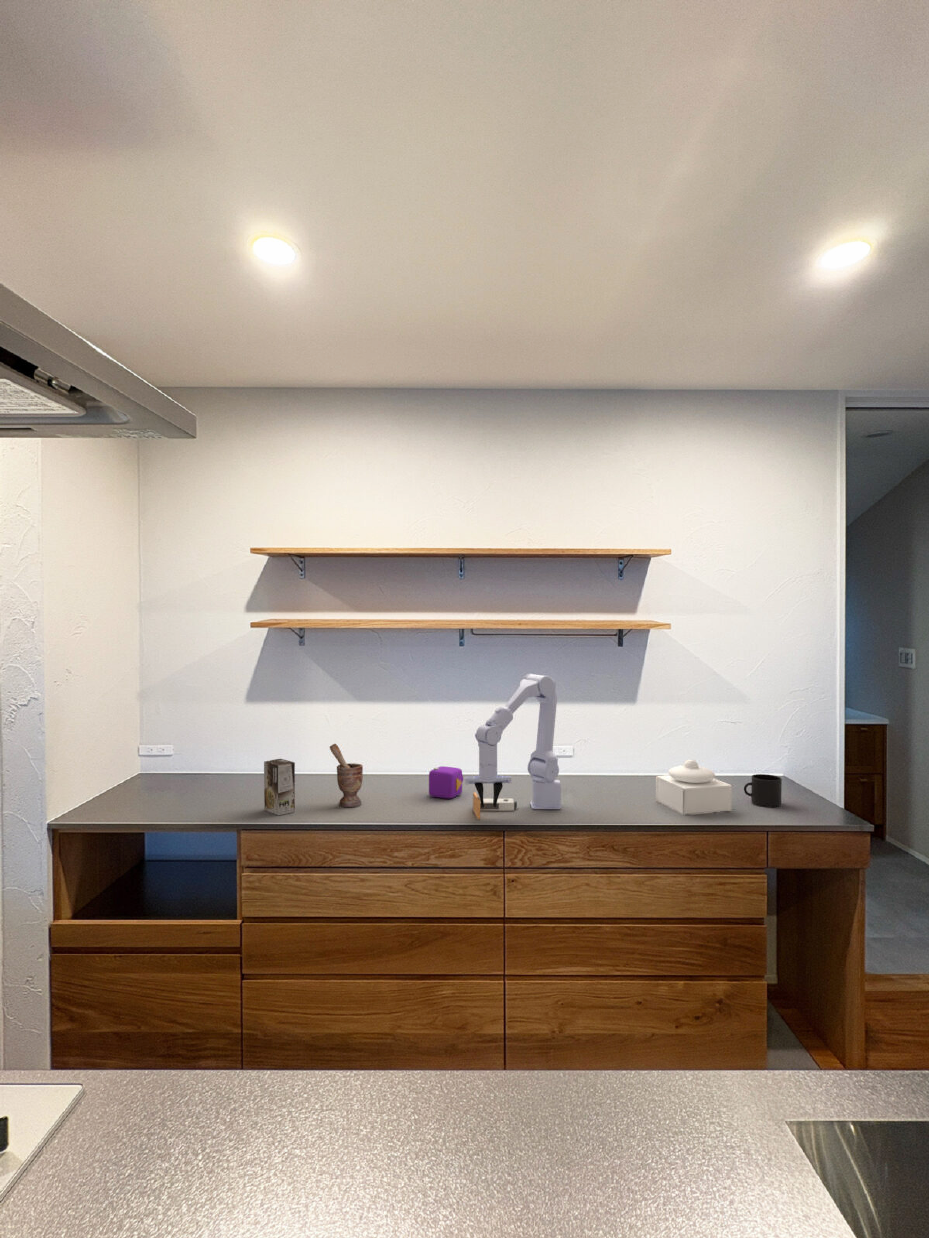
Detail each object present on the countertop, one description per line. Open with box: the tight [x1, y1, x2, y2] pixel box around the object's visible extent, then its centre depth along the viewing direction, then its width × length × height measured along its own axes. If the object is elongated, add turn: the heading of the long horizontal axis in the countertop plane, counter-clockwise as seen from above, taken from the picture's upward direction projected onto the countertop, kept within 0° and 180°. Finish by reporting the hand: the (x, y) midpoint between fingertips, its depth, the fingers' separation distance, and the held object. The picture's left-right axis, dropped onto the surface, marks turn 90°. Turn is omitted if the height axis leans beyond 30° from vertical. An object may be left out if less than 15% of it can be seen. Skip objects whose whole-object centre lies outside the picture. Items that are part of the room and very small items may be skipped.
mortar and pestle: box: [329, 743, 364, 808], centre depth 245 cm, size 12×9×20 cm
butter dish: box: [655, 759, 733, 816], centre depth 245 cm, size 18×18×16 cm
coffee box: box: [263, 758, 296, 816], centre depth 237 cm, size 9×6×16 cm
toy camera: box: [428, 766, 464, 800], centre depth 258 cm, size 11×14×10 cm
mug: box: [743, 773, 783, 808], centre depth 248 cm, size 9×12×9 cm
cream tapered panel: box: [480, 798, 518, 812], centre depth 241 cm, size 14×5×3 cm, turn 91°
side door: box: [472, 791, 481, 820], centre depth 233 cm, size 10×1×6 cm, turn 8°
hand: (488, 806), depth 231 cm, fingers open, 3 cm apart
